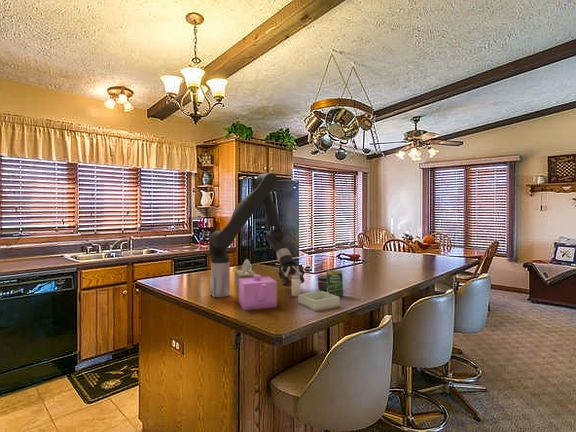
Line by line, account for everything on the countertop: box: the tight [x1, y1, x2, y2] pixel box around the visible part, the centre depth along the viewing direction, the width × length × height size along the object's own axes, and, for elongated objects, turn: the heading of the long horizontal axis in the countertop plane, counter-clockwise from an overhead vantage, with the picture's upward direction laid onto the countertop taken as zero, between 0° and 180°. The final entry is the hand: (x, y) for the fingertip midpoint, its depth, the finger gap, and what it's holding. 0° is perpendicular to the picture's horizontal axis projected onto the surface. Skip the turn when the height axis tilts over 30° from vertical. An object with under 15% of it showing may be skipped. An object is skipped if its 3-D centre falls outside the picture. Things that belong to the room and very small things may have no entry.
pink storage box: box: [238, 274, 278, 311], centre depth 160 cm, size 15×25×14 cm, turn 19°
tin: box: [280, 270, 297, 285], centre depth 209 cm, size 15×3×8 cm, turn 143°
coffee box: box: [326, 269, 344, 298], centre depth 177 cm, size 8×3×13 cm, turn 90°
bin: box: [297, 290, 341, 312], centre depth 160 cm, size 14×14×4 cm
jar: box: [317, 274, 327, 293], centre depth 189 cm, size 10×10×8 cm
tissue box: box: [234, 258, 258, 289], centre depth 202 cm, size 19×10×16 cm, turn 18°
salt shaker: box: [290, 274, 301, 297], centre depth 179 cm, size 4×4×10 cm
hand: (296, 283), depth 179 cm, fingers open, 8 cm apart
